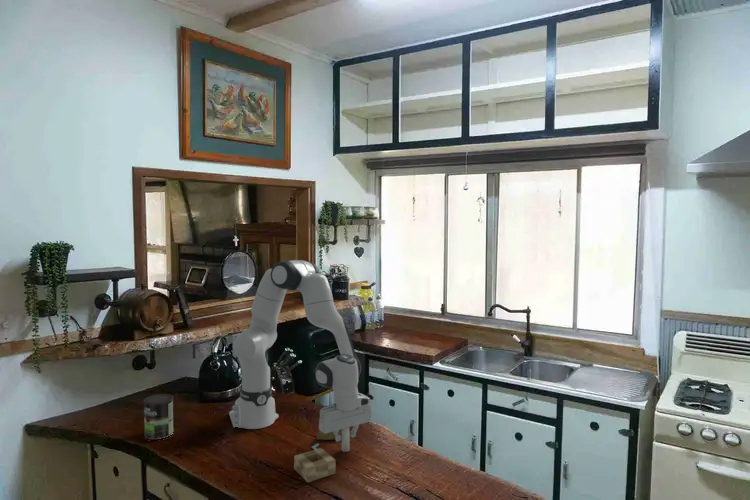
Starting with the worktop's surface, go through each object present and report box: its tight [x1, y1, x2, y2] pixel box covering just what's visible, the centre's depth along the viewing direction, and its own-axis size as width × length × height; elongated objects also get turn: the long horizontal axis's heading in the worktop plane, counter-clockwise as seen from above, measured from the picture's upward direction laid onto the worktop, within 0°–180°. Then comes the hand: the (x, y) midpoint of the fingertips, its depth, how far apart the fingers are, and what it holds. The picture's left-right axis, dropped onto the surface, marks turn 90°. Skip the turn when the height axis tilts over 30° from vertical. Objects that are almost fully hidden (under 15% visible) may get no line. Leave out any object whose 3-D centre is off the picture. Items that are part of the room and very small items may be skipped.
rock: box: [316, 429, 342, 441], centre depth 186 cm, size 11×9×10 cm
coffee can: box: [143, 393, 174, 439], centre depth 187 cm, size 10×10×14 cm
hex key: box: [311, 443, 320, 450], centre depth 176 cm, size 11×3×1 cm, turn 34°
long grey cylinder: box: [341, 427, 351, 453], centre depth 177 cm, size 3×3×10 cm
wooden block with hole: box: [293, 447, 337, 483], centre depth 162 cm, size 10×10×4 cm
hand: (345, 438), depth 177 cm, fingers open, 5 cm apart
